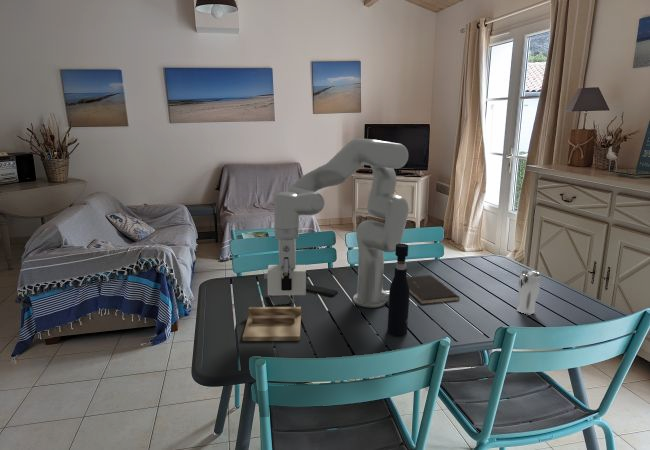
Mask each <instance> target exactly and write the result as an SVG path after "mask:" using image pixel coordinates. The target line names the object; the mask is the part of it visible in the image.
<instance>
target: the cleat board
mask: <svg viewBox="0 0 650 450" xmlns="http://www.w3.org/2000/svg"><path fill="white" fill-rule="evenodd" d="M301 321H302V306H294V307H273V306H249V307H248V317H247V320H246V324H245V327H244V330H243V334H242V341H243V342H267V341H268V342H269V341H271V342H274V341H275V342H280V341H281V342H285V341H287V342H288V341H289V342H290V341H292V342H293V341H295V342H296V341H298V342H299V341H301V327H302V326H301V325H302V324H301V323H302V322H301Z"/></svg>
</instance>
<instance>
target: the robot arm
mask: <svg viewBox="0 0 650 450" xmlns="http://www.w3.org/2000/svg"><path fill="white" fill-rule="evenodd" d="M408 160H409V151H408V148H407V147H406V146H405V145H403V144H402V143H398V142H397V143H396V142H391V141H384V140H378V139H371V138H360V137H359V138H353V139H351V140H349V142H347V143H346V145H345V146H343V147H342V148H341V149H340V150H339V151H338V152H337V153H336V154H335V155H334V156H333V157H332V158H330V160H329V161H327V162H326V163H325V164H323V165H320V166H318V167H316V168H315V169H313V170H311V171H309V172H307V173H306V174H304V175H303V176H301V177H300V178H298V179H297V181H295V182H294V184H292V185H291V187H289V189H288V190H287V191H280V192H277V193H275V195H274V198H273V203H274V205H273V207H274V208H273V209H274V210H273V212H274V238H275V239H277V240H278V261H279V263H278V265H280V269H281V270H282V278H281V290H292V278H291V269H293V270H295V268H296V265H297V258H296V257H297V244H296V241H297V239H298V238H299V236H300V231H299V228H300V220H299V219H300V218H299V217H300V216H302V215H303V216H314V215H315V216H316V215H317V214H319V213H321V212H322V210H323V209H324V207H325V199H324V197H323V195H322V194H321V193H319V192H318V191H319V190H322V189H325V188H329V187H333V186H334V187H335V186H338V185H342V184H343V183H346V182H347V180H349V178H350V177H351V176H352V175H353V174H354V173H355V172H356V171H357V170H359V168H360V167H361V166H363V165H364V166H370V168H371V170H372V171H371V172H372V175H373V178H372V184H371V188H370V192H369V195H368V200H367V206H366V210H367V213H368V214H369V215H370V216H371V217H374V218H378V219H380V220H385V222H384V223H383V222H380V221H377V220H373V219H367V220H363V221H361V222H360V223H359V224H358V226H357V228H356V234H355V235H356V242H357V248H358V249H357V250H358V262H357V263H358V264H357V267H358V268H357V289H356V290H357V293H355V294H354V295H353V298H352V300H353V303H354V304H355V305H357V306H360V307H363V308H368V309H369V308H370V309H371V308H372V309H373V308H374V309H375V308H380V307H382V306H384V305H385V304H386V303H387V298H388V299H389V290H384V285H383V284H384V266H385V264H384V263H385V255H384V252H385V253H391V254H392V253H394V252H396V244H402V240H403V236H404V232H405V227H406V225H407V221H408V220H407V219H408V217H409V203H408V200H406V198H405V197H403V196H401V195H397V194H395V191H396V188H397V187H396V186H397V175H396V171H395V170H396V169H401V168H403V167H404V166H405V165H406V164H407V162H408ZM283 267H284V269H283ZM288 267H290V269H288ZM288 271H289V272H288Z"/></svg>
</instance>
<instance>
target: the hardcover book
mask: <svg viewBox="0 0 650 450" xmlns="http://www.w3.org/2000/svg"><path fill="white" fill-rule="evenodd" d="M406 278H407V281H408V285H409V292H410V294H411V295H412V296H413V297H414V298H415V299H416V300H418V302H419V303H420V304H421V305H422V304H423V305H424V304H433V303H434V302H435V303H443V302H452V301H453V302H455V301H460V295H458V294H456V293H455V292H454V291H452V290H451V289H450V288H449V287H447V286H446V285H445V284H443V283H442V282H441V281H439V280H438V279H437V278H435V277H434V276H433V275H432V274H428V275H414V276H406ZM454 300H455V301H454ZM435 303H434V304H435Z"/></svg>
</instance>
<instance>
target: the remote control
mask: <svg viewBox="0 0 650 450" xmlns="http://www.w3.org/2000/svg"><path fill="white" fill-rule="evenodd" d="M308 291H310V292H309V293H312V292H314V293H313V294H317V295H321V296H326V297H329V298H335V296H337V295H338V294H339V291H338V290H336V289H333V288H332V289H331V288H327V287H322V286H318V285H314V284H308V283H306V292H308Z"/></svg>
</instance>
